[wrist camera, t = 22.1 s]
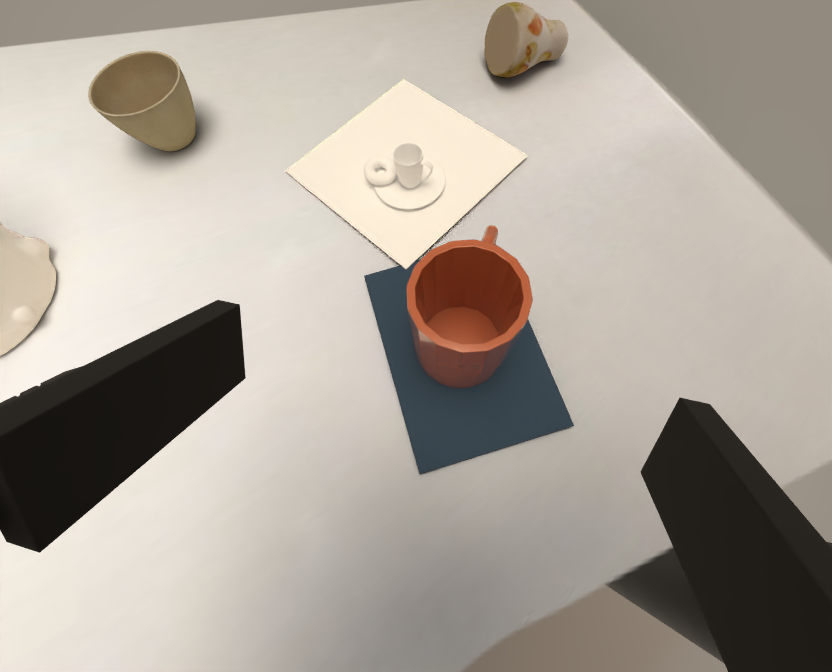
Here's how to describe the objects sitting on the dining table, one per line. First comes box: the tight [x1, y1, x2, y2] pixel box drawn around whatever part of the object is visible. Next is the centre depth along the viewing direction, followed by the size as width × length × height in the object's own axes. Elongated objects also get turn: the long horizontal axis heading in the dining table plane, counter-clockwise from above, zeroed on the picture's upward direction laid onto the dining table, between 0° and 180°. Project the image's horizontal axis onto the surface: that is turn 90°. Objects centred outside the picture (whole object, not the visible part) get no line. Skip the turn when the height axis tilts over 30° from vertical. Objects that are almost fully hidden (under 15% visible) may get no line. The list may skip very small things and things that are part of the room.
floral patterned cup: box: [485, 2, 568, 77], centre depth 47 cm, size 8×10×10 cm
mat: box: [364, 244, 574, 474], centre depth 37 cm, size 20×14×1 cm
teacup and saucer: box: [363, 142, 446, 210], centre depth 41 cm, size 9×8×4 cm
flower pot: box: [89, 51, 196, 151], centre depth 45 cm, size 10×10×7 cm
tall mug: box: [407, 225, 532, 388], centre depth 32 cm, size 11×8×11 cm
